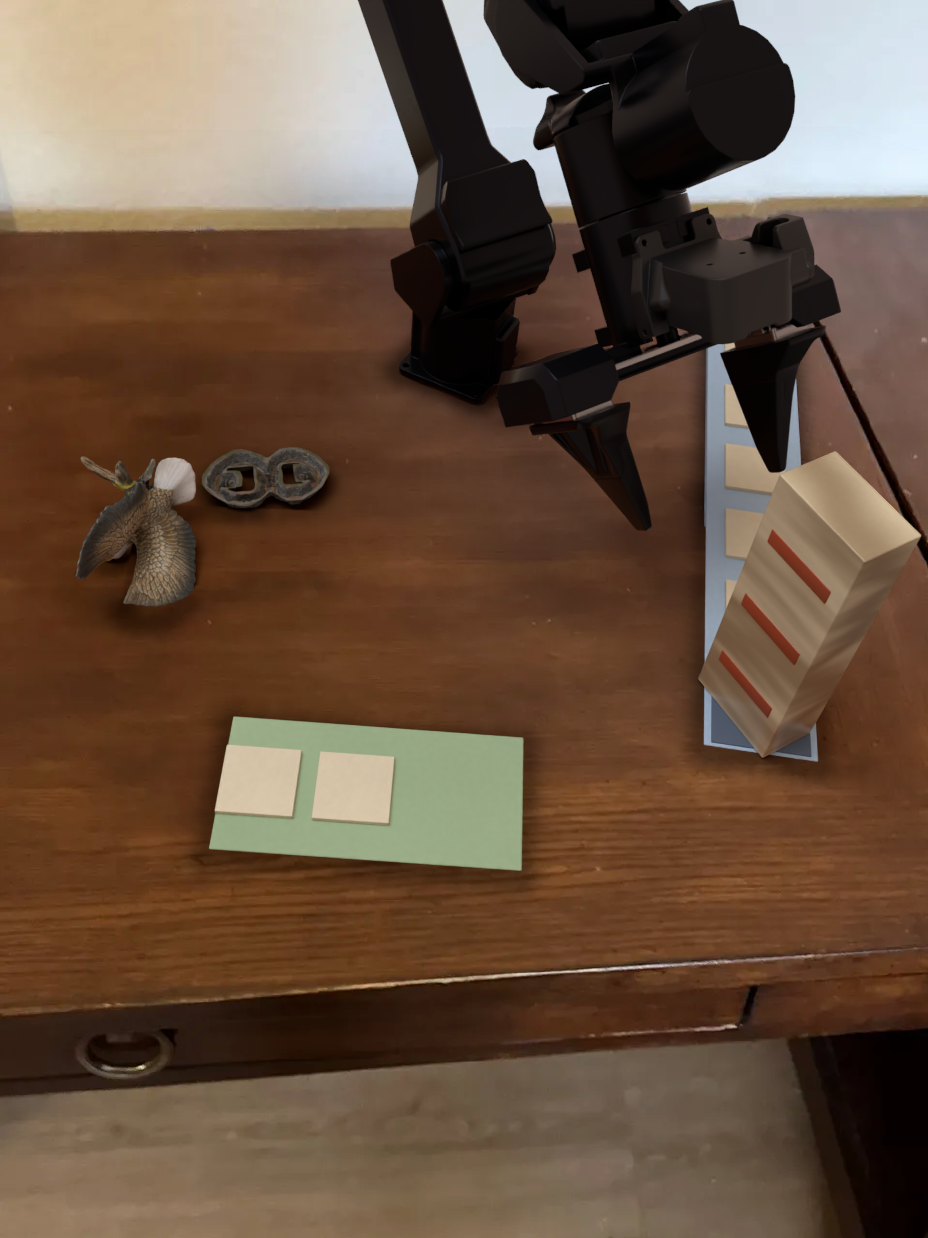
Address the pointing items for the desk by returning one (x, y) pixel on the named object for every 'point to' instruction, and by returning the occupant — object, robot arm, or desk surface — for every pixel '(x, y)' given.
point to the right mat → (735, 526)
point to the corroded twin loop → (265, 476)
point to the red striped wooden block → (804, 600)
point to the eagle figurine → (146, 531)
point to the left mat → (371, 794)
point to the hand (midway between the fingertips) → (712, 500)
